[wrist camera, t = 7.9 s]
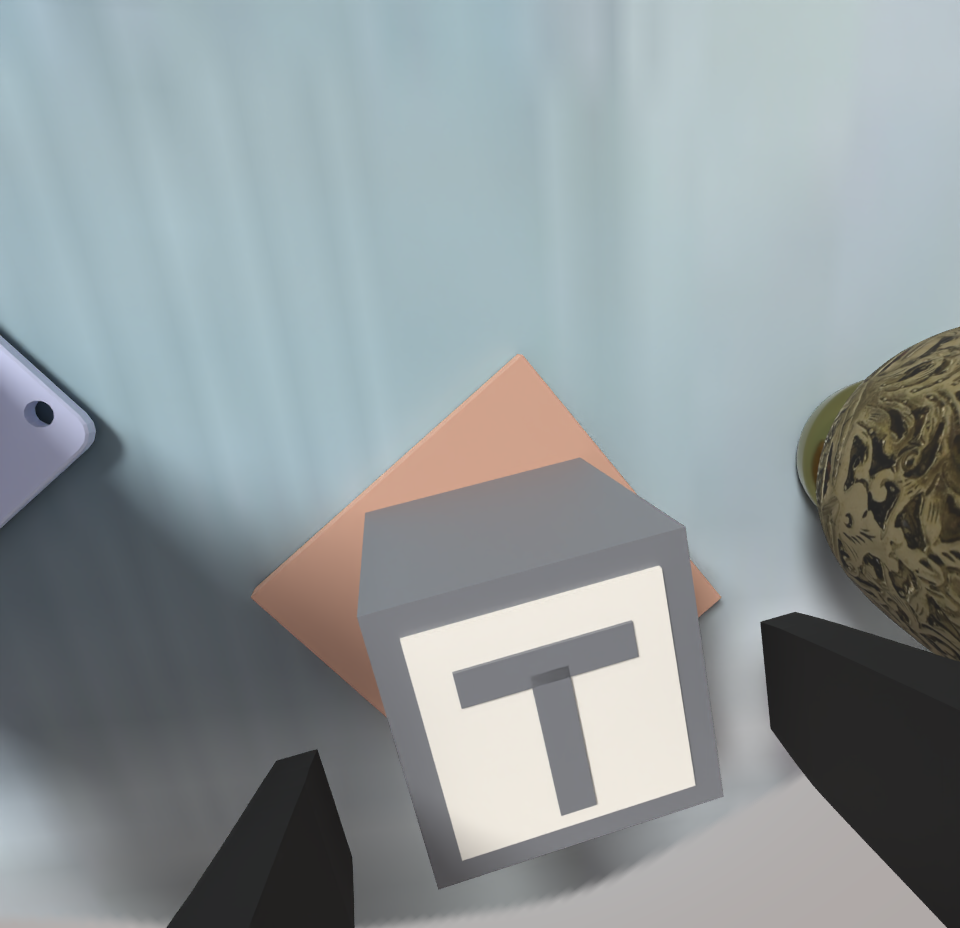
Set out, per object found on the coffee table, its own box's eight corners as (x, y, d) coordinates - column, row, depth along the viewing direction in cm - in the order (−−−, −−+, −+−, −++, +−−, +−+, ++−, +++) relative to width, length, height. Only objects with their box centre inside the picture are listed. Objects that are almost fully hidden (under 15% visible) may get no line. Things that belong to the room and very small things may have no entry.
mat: (254, 587, 14) (250, 597, 13) (517, 354, 14) (522, 355, 13) (480, 788, 16) (483, 803, 16) (711, 589, 16) (721, 597, 15)
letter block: (419, 704, 15) (439, 898, 10) (365, 513, 13) (356, 622, 8) (614, 647, 15) (728, 803, 10) (580, 457, 14) (690, 529, 9)
